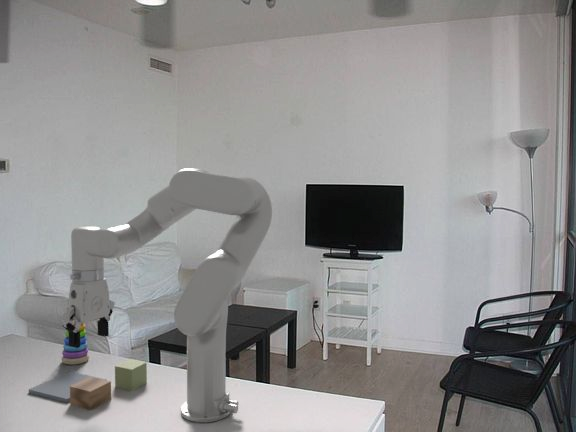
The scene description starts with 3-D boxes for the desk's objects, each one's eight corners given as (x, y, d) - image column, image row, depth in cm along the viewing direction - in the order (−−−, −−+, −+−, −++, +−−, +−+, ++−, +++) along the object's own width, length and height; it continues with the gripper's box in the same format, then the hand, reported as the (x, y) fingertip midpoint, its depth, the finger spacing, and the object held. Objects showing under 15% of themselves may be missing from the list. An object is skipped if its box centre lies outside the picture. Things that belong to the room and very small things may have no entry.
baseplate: (106, 382, 146) (106, 379, 146) (67, 402, 134) (67, 399, 133) (69, 374, 152) (69, 371, 152) (28, 393, 139) (28, 389, 139)
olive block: (146, 382, 147) (146, 362, 146) (132, 390, 141) (132, 369, 141) (129, 379, 149) (129, 359, 149) (115, 387, 144) (114, 366, 143)
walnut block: (111, 399, 136) (110, 381, 136) (90, 410, 130) (90, 391, 129) (91, 394, 139) (90, 376, 138) (70, 405, 133) (69, 386, 132)
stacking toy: (70, 367, 157) (69, 307, 156) (56, 361, 162) (55, 302, 161) (94, 360, 164) (92, 302, 162) (80, 354, 168) (78, 298, 167)
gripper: (72, 283, 122) (74, 353, 124) (123, 270, 138) (124, 333, 139) (49, 280, 125) (51, 349, 127) (101, 268, 141) (102, 330, 142)
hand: (89, 341), depth 133 cm, fingers open, 9 cm apart
